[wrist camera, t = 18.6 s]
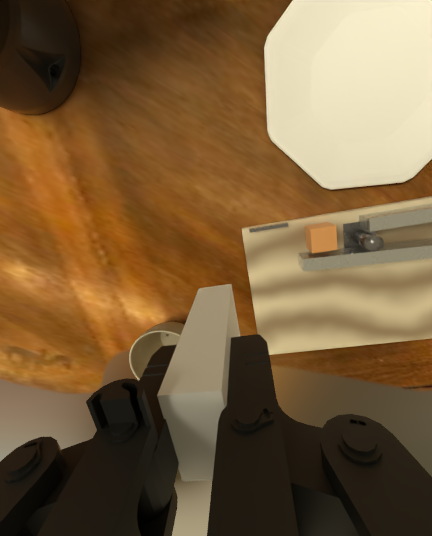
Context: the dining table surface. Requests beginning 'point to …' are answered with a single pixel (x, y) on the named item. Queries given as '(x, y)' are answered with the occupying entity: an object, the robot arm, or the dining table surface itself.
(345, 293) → the board
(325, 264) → the bar
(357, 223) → the tongs base
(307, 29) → the plate
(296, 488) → the robot arm
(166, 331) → the flower pot
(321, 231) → the orange cube
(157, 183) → the dining table surface
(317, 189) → the dining table surface
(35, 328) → the dining table surface
